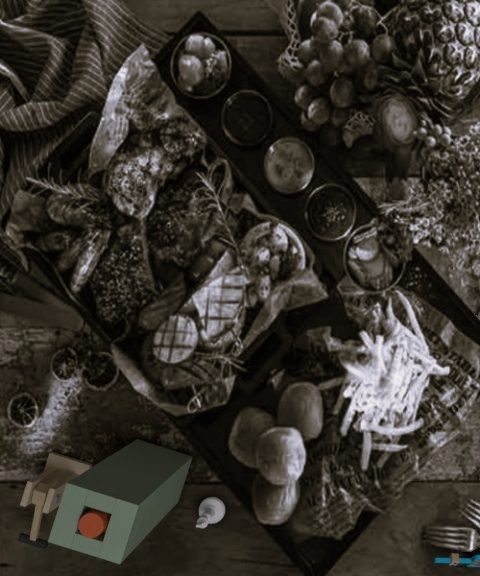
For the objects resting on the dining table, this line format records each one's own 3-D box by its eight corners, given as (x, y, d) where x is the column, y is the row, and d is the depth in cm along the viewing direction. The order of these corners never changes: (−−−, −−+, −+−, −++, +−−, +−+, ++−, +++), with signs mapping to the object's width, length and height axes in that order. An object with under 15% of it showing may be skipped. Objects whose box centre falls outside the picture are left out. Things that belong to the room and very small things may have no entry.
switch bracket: (78, 509, 144) (51, 529, 132) (37, 497, 143) (7, 515, 132) (92, 464, 144) (67, 479, 132) (52, 451, 144) (23, 465, 132)
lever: (49, 544, 138) (42, 552, 136) (22, 535, 138) (15, 544, 136) (60, 488, 134) (53, 496, 132) (33, 480, 134) (25, 487, 132)
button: (82, 527, 113) (75, 533, 110) (90, 504, 113) (82, 509, 110) (106, 534, 113) (98, 541, 110) (113, 511, 113) (106, 517, 110)
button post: (122, 484, 144) (47, 542, 111) (137, 439, 144) (66, 482, 111) (178, 502, 144) (119, 564, 111) (192, 456, 144) (138, 505, 111)
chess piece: (195, 501, 144) (182, 517, 134) (220, 493, 144) (209, 508, 134) (203, 526, 144) (190, 543, 134) (228, 518, 144) (217, 535, 134)
